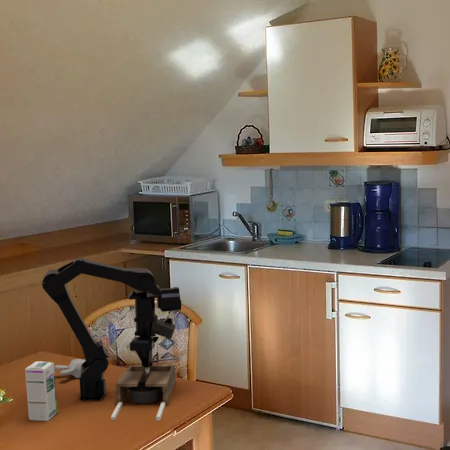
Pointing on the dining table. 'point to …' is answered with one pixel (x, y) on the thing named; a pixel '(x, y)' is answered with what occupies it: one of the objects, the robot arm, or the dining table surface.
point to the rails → (121, 406)
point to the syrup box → (41, 391)
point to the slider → (148, 369)
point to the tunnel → (157, 378)
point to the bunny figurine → (71, 368)
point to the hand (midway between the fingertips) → (147, 365)
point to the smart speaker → (144, 393)
